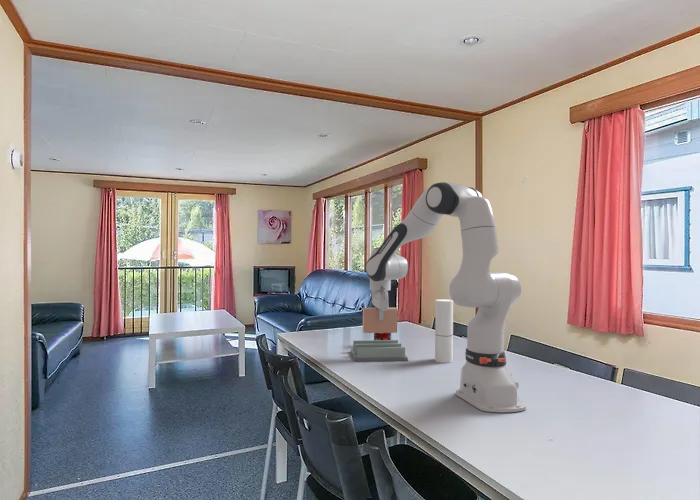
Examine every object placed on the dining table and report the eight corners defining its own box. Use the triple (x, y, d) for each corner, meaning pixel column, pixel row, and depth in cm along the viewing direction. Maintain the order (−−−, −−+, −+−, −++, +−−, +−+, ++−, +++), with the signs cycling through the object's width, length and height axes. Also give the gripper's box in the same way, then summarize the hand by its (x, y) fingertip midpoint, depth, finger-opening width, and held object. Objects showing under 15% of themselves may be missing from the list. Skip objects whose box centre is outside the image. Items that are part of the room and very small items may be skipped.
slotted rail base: (407, 360, 176) (408, 348, 176) (354, 361, 174) (355, 349, 174) (399, 350, 193) (399, 339, 193) (350, 351, 191) (350, 340, 191)
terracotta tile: (397, 332, 179) (397, 308, 179) (363, 333, 178) (364, 309, 178) (395, 330, 183) (395, 307, 183) (362, 331, 182) (362, 307, 181)
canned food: (371, 345, 204) (371, 322, 204) (385, 343, 207) (385, 321, 207) (378, 348, 197) (379, 325, 197) (393, 347, 200) (394, 323, 200)
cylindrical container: (451, 358, 181) (451, 299, 180) (453, 363, 174) (454, 301, 173) (434, 358, 181) (434, 299, 181) (435, 362, 174) (436, 301, 174)
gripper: (392, 288, 170) (392, 322, 170) (383, 283, 190) (383, 314, 191) (376, 288, 169) (376, 323, 170) (369, 283, 190) (369, 314, 190)
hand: (379, 318), depth 180 cm, fingers closed on terracotta tile, 4 cm apart
